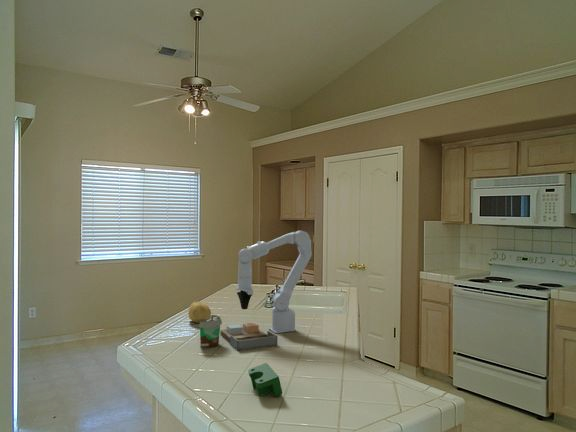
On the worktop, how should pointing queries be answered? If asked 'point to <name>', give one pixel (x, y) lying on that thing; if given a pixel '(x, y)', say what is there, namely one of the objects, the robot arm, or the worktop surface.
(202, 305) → the potato
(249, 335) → the walnut board
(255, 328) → the terracotta tile
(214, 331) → the food container
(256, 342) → the tray
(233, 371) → the worktop surface
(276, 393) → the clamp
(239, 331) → the pale blue block
